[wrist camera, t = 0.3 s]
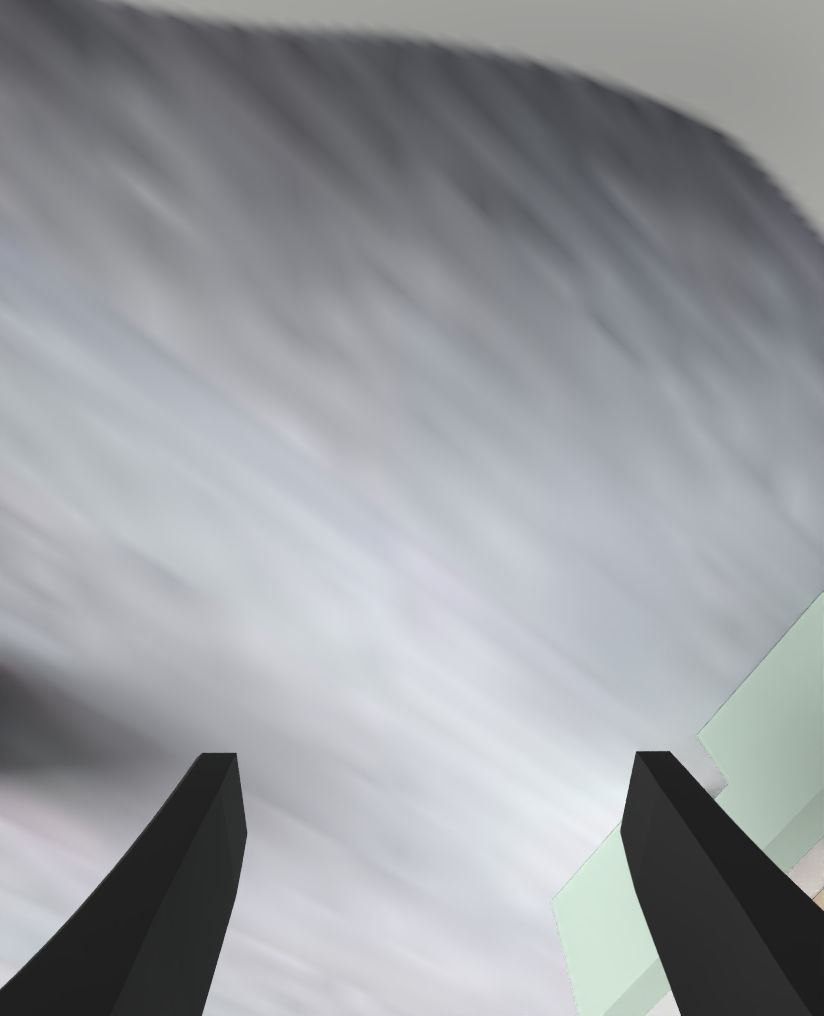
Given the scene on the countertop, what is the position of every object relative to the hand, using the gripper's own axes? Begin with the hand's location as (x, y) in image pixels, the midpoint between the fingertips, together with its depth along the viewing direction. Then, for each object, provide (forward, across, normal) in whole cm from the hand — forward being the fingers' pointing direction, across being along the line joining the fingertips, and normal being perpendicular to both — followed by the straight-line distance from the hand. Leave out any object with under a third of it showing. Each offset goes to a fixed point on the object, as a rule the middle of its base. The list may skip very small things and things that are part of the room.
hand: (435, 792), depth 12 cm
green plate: (+9, -10, +9) cm, 17 cm away
